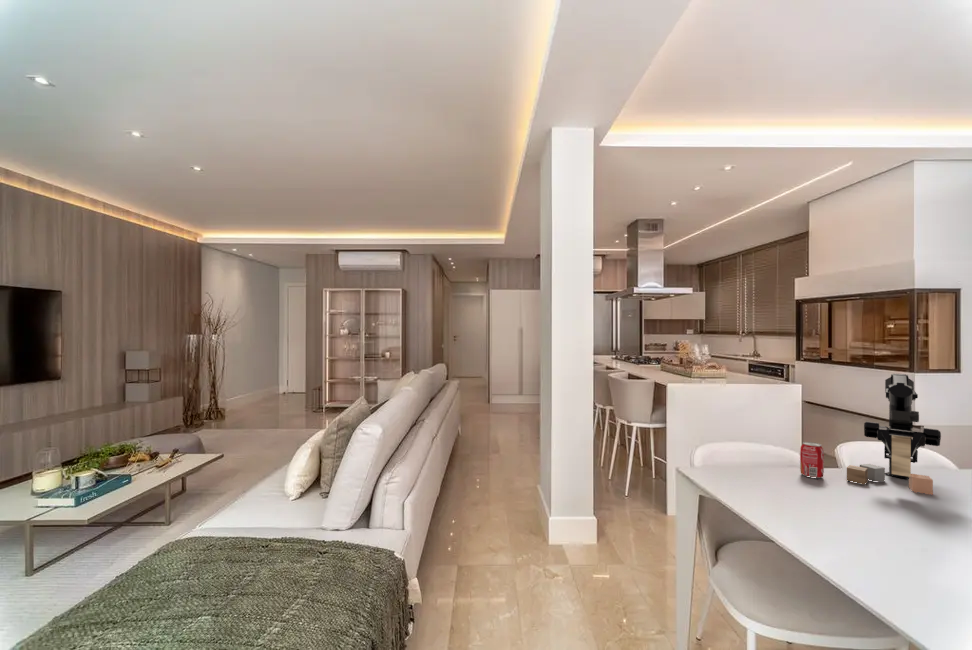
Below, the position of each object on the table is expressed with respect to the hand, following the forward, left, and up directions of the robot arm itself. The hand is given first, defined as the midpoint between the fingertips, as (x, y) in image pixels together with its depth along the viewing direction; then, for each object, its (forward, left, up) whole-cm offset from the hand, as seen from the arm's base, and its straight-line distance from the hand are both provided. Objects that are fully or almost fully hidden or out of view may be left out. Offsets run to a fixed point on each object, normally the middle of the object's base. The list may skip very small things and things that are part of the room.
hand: (901, 454), depth 146 cm
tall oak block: (-1, -1, -7) cm, 7 cm away
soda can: (+5, -24, -14) cm, 28 cm away
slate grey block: (-12, -13, -14) cm, 22 cm away
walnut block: (-4, -14, -14) cm, 20 cm away
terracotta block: (-13, 0, -14) cm, 18 cm away
